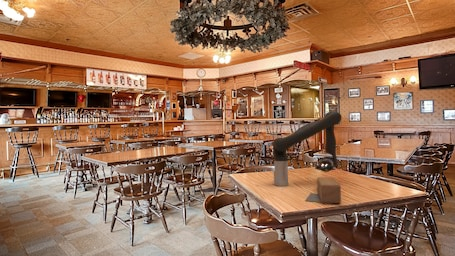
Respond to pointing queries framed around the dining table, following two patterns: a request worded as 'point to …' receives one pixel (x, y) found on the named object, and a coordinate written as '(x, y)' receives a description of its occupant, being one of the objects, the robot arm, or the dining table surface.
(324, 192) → the block
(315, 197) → the mat
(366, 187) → the dining table surface
